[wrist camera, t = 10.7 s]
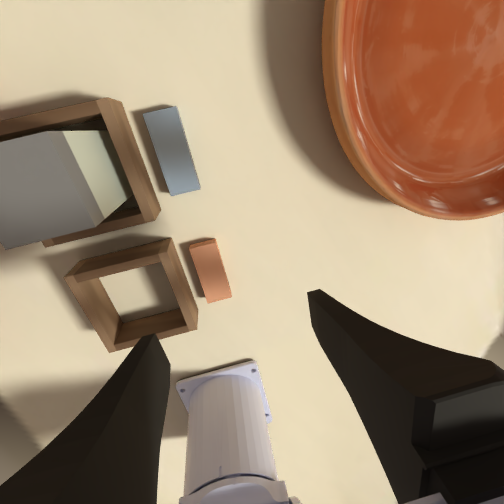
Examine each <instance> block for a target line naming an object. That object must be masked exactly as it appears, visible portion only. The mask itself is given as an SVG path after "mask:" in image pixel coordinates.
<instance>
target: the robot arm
mask: <svg viewBox="0 0 504 504" xmlns="http://www.w3.org/2000/svg"><path fill="white" fill-rule="evenodd" d="M307 295H308V302H309V309H310V316H311V323H312V327H313V330H314V332H315V334H316V337H317V339H318V341H319V343H320V345H321V347H322V349H323V350H324V352H325V354H326V355H327V357H328V359H329V361H330V362H331V364H332V366H333V367H334V369H335V371H336V372H337V374H338V376H339V377H340V379H341V381H342V382H343V384H344V386H345V387H346V389H347V391H348V393H349V395H350V397H351V399H352V401H353V403H354V405H355V407H356V409H357V411H358V413H359V416H360V418H361V420H362V422H363V424H364V426H365V429H366V431H367V433H368V435H369V437H370V439H371V442H372V444H373V446H374V448H375V451H376V453H377V455H378V457H379V460H380V462H381V464H382V466H383V469H384V471H385V473H386V476H387V478H388V480H389V483H390V485H391V487H392V490H393V492H394V494H395V497H396V499H397V501H398V504H504V370H502V369H501V368H500V367H499V366H497V365H496V364H495V363H493V362H492V361H490V360H486V359H482V358H477V357H473V356H469V355H464V354H460V353H456V352H452V351H449V350H445V349H442V348H438V347H435V346H432V345H429V344H426V343H422V342H420V341H417V340H414V339H411V338H409V337H406V336H403V335H401V334H398V333H396V332H394V331H391V330H389V329H387V328H385V327H382V326H380V325H378V324H376V323H374V322H372V321H370V320H368V319H367V318H365V317H363V316H361V315H359V314H358V313H356V312H354V311H353V310H351V309H349V308H348V307H346V306H345V305H343V304H341V303H340V302H338V301H337V300H335V299H334V298H332V297H331V296H329V295H328V294H326V293H325V292H324V291H322V290H320V289H318V290H314V291H310V292H307ZM169 388H170V363H169V360H168V358H167V356H166V354H165V352H164V350H163V348H162V346H161V344H160V342H159V340H158V338H157V335H156V333H153V334H149V335H146V336H142V337H141V338H140V340H139V341H138V342H137V344H136V345H135V346H134V348H133V349H132V350H131V352H130V353H129V354H128V356H127V357H126V358H125V360H124V361H123V362H122V364H121V365H120V366H119V368H118V369H117V370H116V372H115V373H114V374H113V375H112V377H111V378H110V379H109V380H108V382H107V383H106V384H105V385H104V386H103V388H102V389H101V390H100V391H99V393H98V394H97V395H96V396H95V397H94V399H93V400H92V401H91V402H90V403H89V404H88V405H87V406H86V407H85V409H84V410H83V411H82V412H81V413H80V414H79V415H78V416H77V417H76V418H75V419H74V420H73V421H72V422H71V423H70V424H69V425H68V426H67V427H66V428H65V429H64V430H63V431H62V432H61V433H60V434H59V435H58V436H57V437H56V438H55V439H54V440H53V441H51V442H50V443H49V444H48V445H47V446H46V447H45V448H44V449H43V450H42V451H41V452H40V453H39V454H38V455H36V456H35V457H34V458H33V459H32V460H31V461H29V462H28V463H27V464H26V465H25V466H24V467H22V468H21V469H20V470H19V471H18V472H16V473H15V474H14V475H13V476H12V477H10V478H9V479H8V480H7V481H5V482H4V483H3V484H2V485H1V486H0V504H157V484H158V468H159V453H160V445H161V437H162V431H163V425H164V419H165V413H166V407H167V401H168V395H169ZM176 389H177V391H178V394H179V396H180V398H181V400H182V402H183V404H184V406H185V408H186V410H187V412H188V414H189V418H188V434H187V450H186V465H185V481H184V497H181V498H180V499H179V504H302V503H301V502H300V500H299V499H298V498H297V497H295V496H293V497H288V494H287V489H286V485H285V481H279V480H278V475H277V470H276V465H275V460H274V455H273V450H272V446H271V441H270V436H269V431H268V426H267V424H268V423H270V422H272V416H271V412H270V408H269V405H268V401H267V398H266V394H265V390H264V387H263V383H262V380H261V376H260V373H259V369H258V365H257V362H256V361H253V360H252V361H248V362H244V363H241V364H237V365H234V366H230V367H226V368H223V369H219V370H216V371H212V372H208V373H205V374H201V375H198V376H194V377H190V378H187V379H183V380H180V381H178V382H177V383H176Z"/></svg>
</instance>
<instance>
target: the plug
mask: <svg viewBox="0 0 504 504" xmlns="http://www.w3.org/2000/svg"><path fill="white" fill-rule="evenodd" d="M133 194H134V193H133V191H132V188H131V186H130V183H129V181H128V178H127V176H126V173H125V171H124V168H123V166H122V163H121V161H120V159H119V156H118V154H117V151H116V149H115V146H114V144H113V142H112V139H111V137H110V134H109V132H108V130H104V131H45V132H41V133H37V134H33V135H28V136H24V137H20V138H16V139H12V140H7V141H3V142H0V243H1V244H2V245H3V247H4V248H5V250H7V249H11V248H15V247H19V246H23V245H27V244H31V243H35V242H39V241H43V240H47V239H51V238H55V237H58V236H62V235H66V234H70V233H74V232H78V231H82V230H86V229H90V228H94V227H96V226H97V225H99V224H100V223H101V222H102V221H103V220H104V219H105V218H107V217H108V216H109V215H110V214H111V213H112V212H113V211H115V210H116V209H117V208H118V207H119V206H120V205H121V204H123V203H124V202H125V201H126V200H127V199H128V198H129V197H131V196H132V195H133Z"/></svg>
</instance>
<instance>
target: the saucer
mask: <svg viewBox="0 0 504 504" xmlns="http://www.w3.org/2000/svg"><path fill="white" fill-rule="evenodd" d="M322 67H323V79H324V87H325V93H326V99H327V104H328V108H329V112H330V116H331V120H332V123H333V126H334V129H335V131H336V134H337V137H338V139H339V142H340V144H341V146H342V148H343V150H344V152H345V154H346V155H347V157H348V159H349V161H350V162H351V164H352V165H353V167H354V168H355V169H356V171H357V172H358V173H359V174H360V176H361V177H362V178H363V179H364V180H365V181H366V182H367V183H368V184H369V185H370V186H371V187H372V188H373V189H374V190H375V191H377V192H378V193H379V194H380V195H382V196H383V197H385V198H386V199H388V200H390V201H391V202H393V203H395V204H397V205H399V206H401V207H404V208H406V209H408V210H410V211H413V212H415V213H418V214H420V215H423V216H428V217H432V218H437V219H444V220H472V219H479V218H484V217H489V216H492V215H496V214H499V213H503V212H504V0H325V5H324V14H323V26H322Z"/></svg>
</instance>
